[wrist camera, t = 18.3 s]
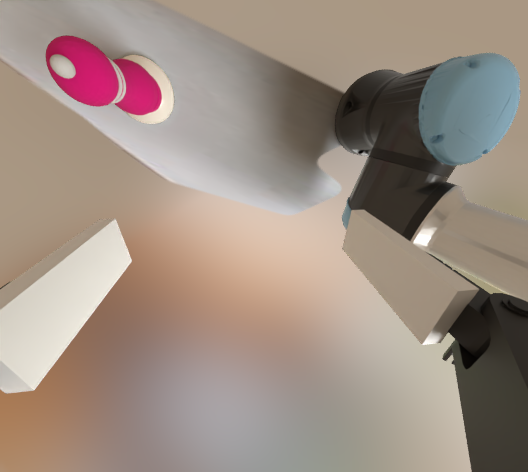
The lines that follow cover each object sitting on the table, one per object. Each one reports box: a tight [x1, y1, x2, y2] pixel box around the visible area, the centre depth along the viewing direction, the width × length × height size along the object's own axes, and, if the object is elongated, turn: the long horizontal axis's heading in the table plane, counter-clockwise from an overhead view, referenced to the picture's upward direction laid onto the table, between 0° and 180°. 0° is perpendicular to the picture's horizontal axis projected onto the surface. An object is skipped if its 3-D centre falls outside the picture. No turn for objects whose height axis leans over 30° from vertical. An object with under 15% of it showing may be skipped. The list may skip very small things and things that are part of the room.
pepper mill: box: [46, 36, 162, 115], centre depth 27 cm, size 7×7×20 cm
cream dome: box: [121, 55, 174, 124], centre depth 36 cm, size 10×10×1 cm
